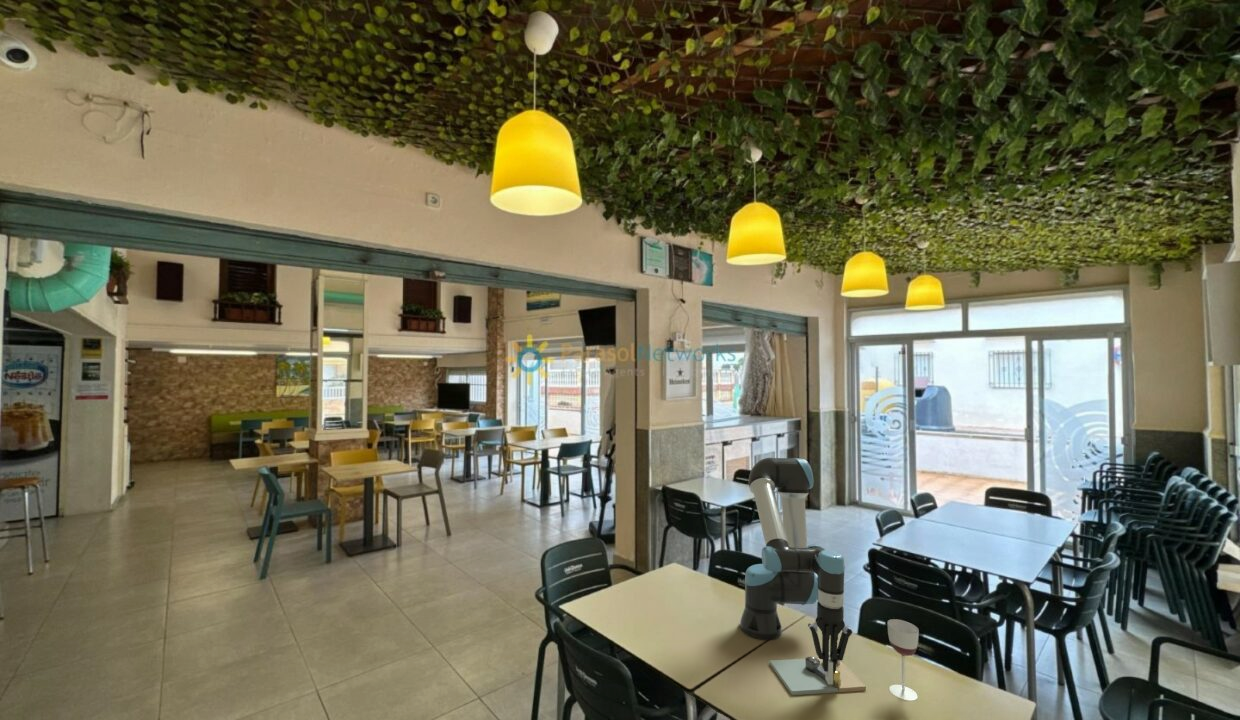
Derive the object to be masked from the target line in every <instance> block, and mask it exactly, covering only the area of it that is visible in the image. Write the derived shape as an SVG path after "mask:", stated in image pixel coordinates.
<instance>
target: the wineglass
mask: <svg viewBox="0 0 1240 720" xmlns="http://www.w3.org/2000/svg"><path fill="white" fill-rule="evenodd" d="M887 634H888V640H889V643H890V645H891V647H892V648H893V650H894V651H895V652H897V653H898V654H900V656H901V684H892V685H890V686H889V687H888V688H889V689H888V690H889V691H890V693H891V694H893V696H895V697H896V698H899V699H902V700H904V701H910V702H911V701H915V700H917V699H918V694H917V692H916V691H914V689H912V688H910V687H908V686H906V685H905V684H906V683H905V678H906V677H905V675H906V673H905V671H906V670H905V667H906V666H905V663H906V662H905V661H906V659H905V656H906V657H908V656H912V655H914V654H915V653H916V652H917V649H918V645H919V636H920V635H919V634H920V632H919V627H917V626H916V625H915V624H913V623H910V622H908V621H906V620H903V619H897V618H896V619H889V620H887Z"/></svg>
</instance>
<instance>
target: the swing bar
mask: <svg viewBox="0 0 1240 720" xmlns="http://www.w3.org/2000/svg"><path fill="white" fill-rule="evenodd" d="M817 658H818V657H814V656H806V658H804V659H805V667H806V669H807V670H808V671H810V672H813V673H815V674H817V675H818V676H820V677H821V678H822V679H824V680H825V681H826V679H825V671H824V669H823V667H822V666H820V661H819V660H818V659H817ZM831 686H833V687H836V688H838V687H840V686H841V680H840V671H839V670H837V669H836V672H833V685H832V684H831Z"/></svg>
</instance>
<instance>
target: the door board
mask: <svg viewBox="0 0 1240 720" xmlns="http://www.w3.org/2000/svg"><path fill="white" fill-rule="evenodd" d="M816 658H817V659H818V660H819V661H820V666H822V667H823V659H819V657H816ZM805 659H806V658H795V659H794V658H793V659H792V658H791V659H777V660H774V659H773V660H769V665H770V666H771V668H772V670H773V671H774V672H775V674H776V675H777V677H778V678H779V680H781V682H782V683H783V685H784V687H785V688H786V689H787V691H788V692H789V693H790V695H791V696H801V695H816V694H831V693H847V692H861V691H867V686H866V685H865V684H864V683H863V682H862V681H861V680H860V678H859V677H858V676H856V675H855V673H853V671H852V670H851V669H850V668H848V667H847V665H846V664H845V663H844V662H843V660H842V661H840V664H839V665H836V669H837V670H839V671H840V680H841V686H840V687H838V688H836V687H833V686H831V684H828V683H827V681H825V680H824V679H822V678H821V677H820V676H818V675H817V674H815V673H813V672H810V671H808V670H807V669H806V667H805Z"/></svg>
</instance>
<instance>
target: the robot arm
mask: <svg viewBox="0 0 1240 720" xmlns="http://www.w3.org/2000/svg"><path fill="white" fill-rule="evenodd" d="M813 474H814V473H813V470H812V467H811V465H810V463H809V462H808V461H807V460H806V459H804V458H797V457H764V458H762V459H759V460H758V462H756V463H755V464H754V465H753V467H752V468H751V470H750V473H749V475H748V486H749V491H750V492H751V493H752V494H753V496H754V500H755V505H756V510H757V513H758V517H759V521H760V525H761V531H762V534H763V539H764V542H765V546H763V547H762V549H761V562H762V563H758V564H757V563H756V564H752V565H751V566H748V568H747V569H746V571H745V574H744V575H745V577H744V595H745V596H744V602H745V603H744V609H743V613H742V614H741V617H740V630H741V631H742V632H743V633H744V634H745V635H747V636H749V637H751V638H753V639H758V640H763V641H764V640H766V641H771V640H775V639H778V638H780V637H781V636H782V629H783V628H782V624H781V620H780V617H779V614H778V611H777V607H778V604H783V605H801V606H805V605H813V604H815V603H817V604H816V605H817V607H816V609H817V610H816V613H817V614H816V618H815V622H813V623H808V624H807V627H808V628H809V630H810V632H811V636H812V641H813V644H814V650H815V653H816V655H817V658H819V659H823V669H824V671H825V679H826V681H827V683H828V684H832V685H833V672H836V664H837V663H838V662H837V661H838V660H840V661H842V662H843V661H844V656H845V654H846V650H847V645H848V642H849V639H850V637H851V636H852V634H853V630H852V629H851V628H850V626H848V625H846V622H845V621H844V617H845V614H844V601H845V570H846V567H845V558H844V555H843V554H841V553H839V552H837V551H835V550H829V549H825V548H824V547H822V546H821V545H819V544H816V543H815V544H813V543H812V544H809V545H808V537H807V536H808V534H807V519H806V517H807V513H806V497H807V496H808V495H809V494H810V492H809V491H810V489H812V488H813V487H814V483H815V481H814V475H813ZM775 489H777V494H779V495H780V497H781V505H782V506H781V507H782V509H781V510H782V515H781V512H780V508H779V504H778V501H777V497H776V494H775ZM818 628H819V630H820V631H821V639H822V642H821V644H820V639H819V634H818V631H819V630H818ZM839 634H840V638H839ZM838 640H839V641H838ZM829 652H830V657H831V659H830V658H829Z"/></svg>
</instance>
